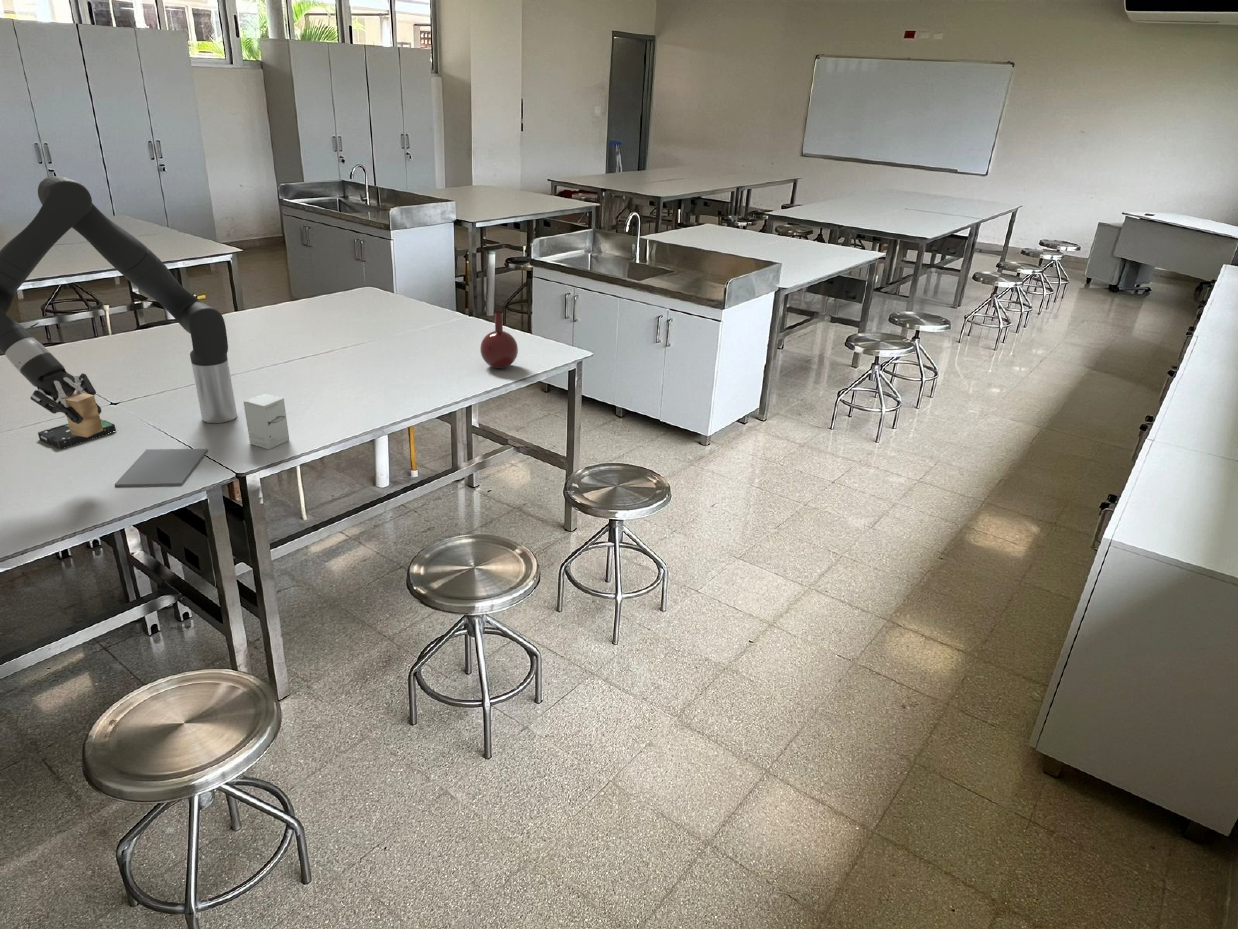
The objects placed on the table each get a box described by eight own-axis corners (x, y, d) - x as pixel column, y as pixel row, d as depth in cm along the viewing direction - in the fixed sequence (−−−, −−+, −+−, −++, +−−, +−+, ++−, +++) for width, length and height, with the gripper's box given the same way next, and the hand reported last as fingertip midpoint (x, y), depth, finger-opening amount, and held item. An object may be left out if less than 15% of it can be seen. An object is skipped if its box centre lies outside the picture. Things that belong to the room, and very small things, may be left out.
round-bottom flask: (486, 374, 274) (485, 318, 266) (476, 363, 285) (475, 308, 276) (522, 371, 279) (522, 316, 271) (511, 360, 290) (511, 306, 281)
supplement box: (269, 450, 212) (262, 406, 207) (249, 444, 215) (242, 400, 209) (290, 440, 218) (284, 397, 213) (270, 434, 221) (264, 392, 215)
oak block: (87, 427, 191) (78, 392, 187) (103, 430, 190) (94, 395, 186) (71, 434, 187) (61, 398, 183) (87, 437, 186) (77, 401, 182)
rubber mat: (146, 451, 207) (146, 449, 207) (207, 450, 210) (207, 448, 209) (114, 486, 190) (114, 484, 189) (182, 485, 192) (181, 483, 192)
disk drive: (60, 451, 206) (117, 432, 218) (58, 442, 205) (115, 423, 217) (39, 441, 211) (96, 423, 222) (36, 432, 209) (93, 414, 221)
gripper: (11, 361, 175) (69, 420, 178) (68, 343, 188) (121, 398, 190) (-1, 381, 179) (57, 437, 181) (56, 362, 191) (108, 415, 194)
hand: (89, 417), depth 186 cm, fingers closed on oak block, 4 cm apart
